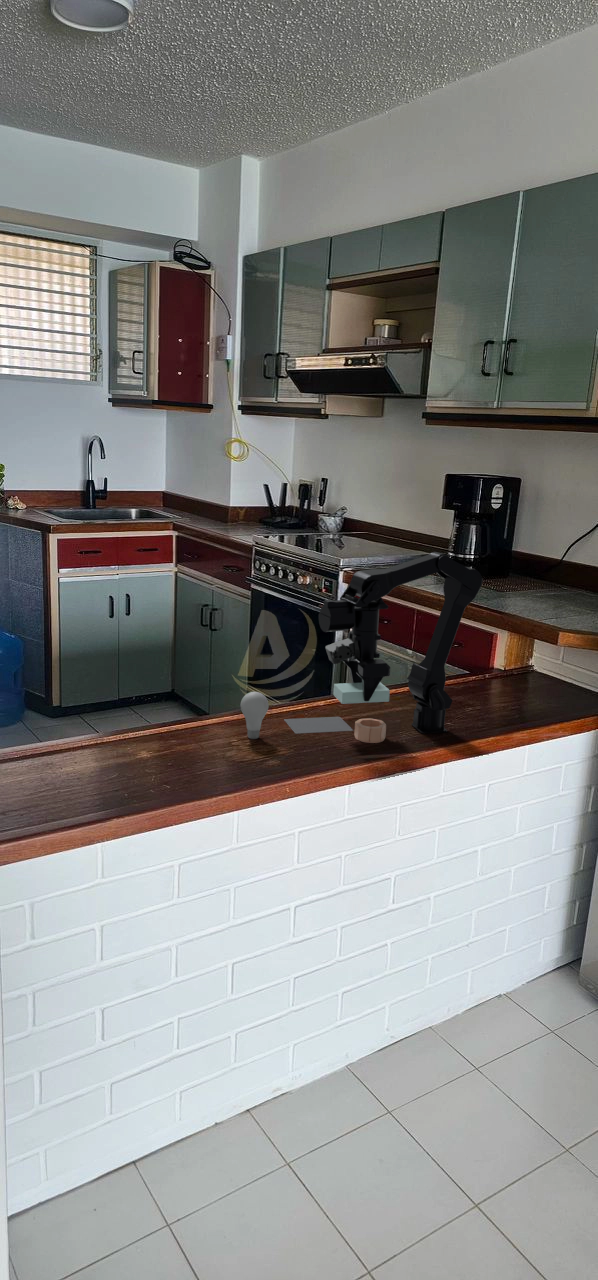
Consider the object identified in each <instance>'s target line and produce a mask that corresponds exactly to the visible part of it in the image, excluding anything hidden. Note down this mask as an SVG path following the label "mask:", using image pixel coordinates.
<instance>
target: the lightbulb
mask: <svg viewBox="0 0 598 1280" xmlns="http://www.w3.org/2000/svg"><path fill="white" fill-rule="evenodd" d="M269 707H270V706H269V701H268V698H267V697H266V696H265V694H263V693H261V692H259V691H251V692H248V693H246V694H244V696H243V697H242V699H241V701H240V710H241V712H242V715H243V716H244V719H245V723H246V729H247V737H248V739H251V740H256V739H259V738H260V730H261V728H262V722H263V719H264V718H265V716H266V714H267V713H268V710H269Z"/></svg>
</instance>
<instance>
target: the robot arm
mask: <svg viewBox="0 0 598 1280" xmlns="http://www.w3.org/2000/svg"><path fill="white" fill-rule="evenodd" d="M434 574H437V575H438V576H440V578H443V579H444V583H443V595H444V596H443V597H444V602H443V605H442V607H441V612H440V613H439V617H438V619H437V622H436V624H435V628H434V631H433V634H432V637H431V639H430V642H429V645H428V648H427V649H426V650H427V651H426V654H425V656H424V658H423V659H422V661H421V662H420V663H418V664H417V663H412V665H411V670H410V673H409V675H408V676H407V677H406V680H408V682H407V687H408V689H409V692H410V693H411V694H412V699H413V700H414V701H416V707H415V708H414V709H413V720H412V722H411V726H412V727H413V728H415V729H416V730H417V731H419V732H420V734H441V733H447V732H448V730H447V728H445V723H446V712H447V711H446V710H448V709H449V710H450V708H451V706H452V703H453V699H452V698H451V696H450V695H448V693H447V692H446V691H445V686H446V681H447V677H446V669H445V666H446V663H447V660H448V657H449V655H450V651H451V648H452V646H453V643H454V641H455V638H456V635H457V631H458V629H459V626H460V624H461V620H462V618H463V615H464V613H465V609H466V608H467V607H468V605H469V604H471V602H473V601H474V600H475V599H476V597H477V596H478V593H479V592H480V590H481V588H482V585H483V577H482V575H481V573H480V571H479V570H478V569H475V568H473V567H467V566H464V565H463V564H461V563H459V562H457V561H456V560H454V559H453V558H451V557H450V556H449V555H448V554H446V553H441V552H439V551H438V552H437V551H433V552H430V553H429V554H426V555H423V556H420V557H418V558H414V559H410V560H409V561H405V562H403V563H399V564H397V565H394V566H390V567H386V568H371V569H363V570H358V571H356V572H355V573H353V575H352V578H351V580H350V582H349V584H348V586H347V587H346V589H345V590H344V592H343V593H342V595H341V596H340V597H339V599H338V600H331V599H325V600H323V605H322V606H321V608H320V610H319V612H318V624H319V627H320V630H321V631H322V632H323V633H329V632H332V633H333V632H343V631H348V633H347V638H344V639H341V640H338V641H335V642H333V643H331V644H330V643H329V644H327V645H325V647H324V648H325V651H326V654H327V657H328V660H329V661H330V662H331V663H332V664H333V665H337V664H341V662H343V663H344V664H345V665H346V666H347V667H348V670H349V674H350V677H351V683H362V687H363V697H364V701H369V700H370V698H371V697H372V695H373V693H374V691H375V689H376V688H377V686H378V684H379V683H380V682H381V681H382V680H383V678H385V677H389V676H391V666H390V665H389V664H388V663H387V662H386V661H384V659H382V658H381V657H380V656H381V655H380V652H379V651H378V641H381V639H382V638H381V637H382V636H381V634H379V618H380V610H388V609H389V605H388V604H387V603H386V602H384V599H383V598H384V597H385V596H387V595H389V594H390V593H391V592H392V590H394V589H395V588H397V587H399V586H402V585H404V584H405V585H406V584H408V583H410V582H414V581H417V580H419V579H423V578H425V577H429V576H431V575H434ZM358 597H359V598H358ZM351 629H352V630H351ZM349 630H350V631H349Z"/></svg>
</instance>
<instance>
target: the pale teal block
mask: <svg viewBox="0 0 598 1280" xmlns="http://www.w3.org/2000/svg"><path fill="white" fill-rule="evenodd" d="M390 692H391V691H390V689H389V688H388V687H387V686H385V685H384V684H383V683H382V682H381V681H380V683H379V684H378V686H377V688H376V689H375V691H374V693H373V695H372V697H371V698H370V700H369V701H364V697H363V687H362V683H352V682H347V683H346V682H345V683H333V692H332V695H333V696H334V697H335V698H336V699H337V701H338V702H339V703H341V705H343V704H344V705H345V704H347V705H349V704H363V703H366V704H367V703H384V702H386V703H387V702H390Z"/></svg>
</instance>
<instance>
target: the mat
mask: <svg viewBox="0 0 598 1280" xmlns="http://www.w3.org/2000/svg"><path fill="white" fill-rule="evenodd" d="M283 722H285V723H286V724H287V725H288V726H289V728H290V729H291V730H292V731H293V733H294V734H300V735H301V734H314V733H315V734H317V733H318V734H319V733H333V732H334V733H337V732H352V731H353V732H355V729H353V727H351V726H350V725H349V724H348V723H347V722H346V721H345V720H343V718H342V717H340V716H327V717H325V716H323V717H321V716H320V717H306V718H305V717H304V718H301V717H300V718H284V719H283Z"/></svg>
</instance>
